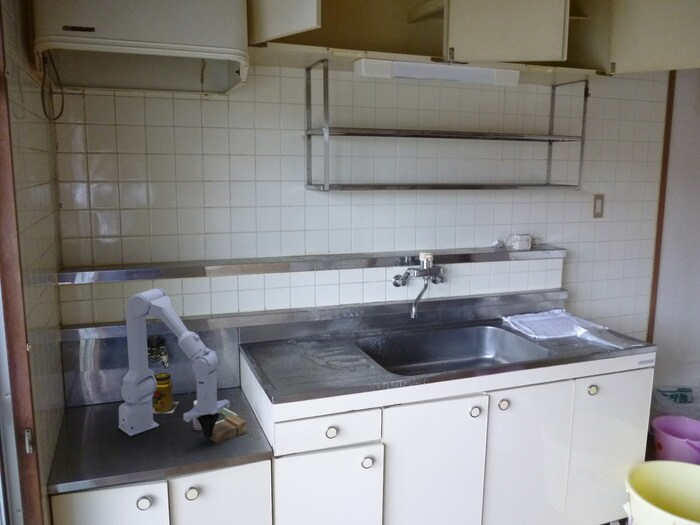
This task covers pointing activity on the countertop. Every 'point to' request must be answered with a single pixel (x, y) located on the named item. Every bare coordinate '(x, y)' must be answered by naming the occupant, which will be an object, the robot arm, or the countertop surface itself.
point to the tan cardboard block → (223, 432)
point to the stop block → (237, 423)
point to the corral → (225, 413)
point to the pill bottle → (196, 420)
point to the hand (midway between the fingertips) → (207, 436)
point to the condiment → (163, 394)
